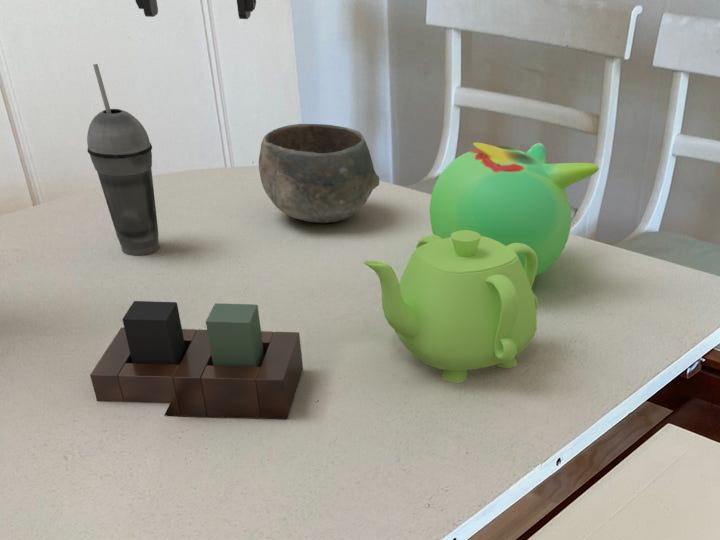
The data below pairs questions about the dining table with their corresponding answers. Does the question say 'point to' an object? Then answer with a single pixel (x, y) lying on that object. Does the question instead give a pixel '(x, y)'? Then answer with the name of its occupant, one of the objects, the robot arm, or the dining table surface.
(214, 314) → the pin
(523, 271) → the teapot
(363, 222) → the dining table surface
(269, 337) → the wooden socket block
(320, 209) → the bowl
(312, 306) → the dining table surface
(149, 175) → the beverage cup
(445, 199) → the toy bird
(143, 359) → the pin
